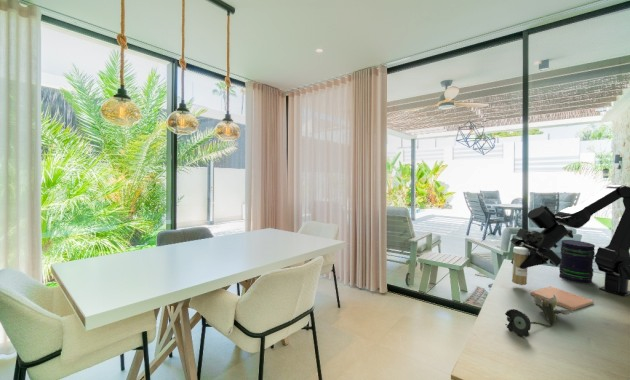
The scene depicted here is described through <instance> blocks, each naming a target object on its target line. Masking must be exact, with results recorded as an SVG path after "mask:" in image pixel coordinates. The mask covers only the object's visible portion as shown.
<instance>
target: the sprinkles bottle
mask: <svg viewBox="0 0 630 380" xmlns="http://www.w3.org/2000/svg"><path fill="white" fill-rule="evenodd" d="M512 252H513V257H512V259H513V264H512V272H511V273H512V280H511V282H512V283H514V284H516V285H519V286H525V285H527V284H528V282H527V281H528V280H527V279H528V278H527V277H528V268H524V269H521V268H520V267H519V266H520V265H521V264H522V263H523V262H524V261H525V260H526V259H527V258H528V254H529V255H530V252H529V250H528V249H527V248H524V247H516V246H514V247H513V249H512Z"/></svg>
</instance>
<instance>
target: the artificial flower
mask: <svg viewBox="0 0 630 380" xmlns="http://www.w3.org/2000/svg"><path fill="white" fill-rule="evenodd" d="M531 300H532V301H533V302H534V304H535V306H536V307H537V308H539V309H540V310H541V311H539V312H538V314H544V316H545V318H546V320H547V322H548V324H547V323H541V322H539V321H538V322H537V321H531V319H530V318H529V316H528V315H527V314H526V313H523V312H522V311H520V310H519V309H508V310H507V311H505V313H504V314H505V316H507V317H506V321H507V322H508V324H507V323H505V326H506V329H507V330H508V331H509V332H511V333H512V332H513V333H515V334H516V336H518V337H529V336H530V331H531V328H532V324H533V325H541V326H545V327H549V328H551V327H553V326H555V323H556V322H557V317H556V315H559V314H561V315H570V314H573V313H575V310H570V309H568V308H566V309H560V310H559V309H555V308H556V307H557V299H556V296H555V295H554V297H553V298H550V300H548V299H547V298H543V299H541V298H539V297H536V296H533V297H532V298H531Z"/></svg>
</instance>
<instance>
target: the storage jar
mask: <svg viewBox="0 0 630 380" xmlns="http://www.w3.org/2000/svg"><path fill="white" fill-rule="evenodd" d="M560 242H561V244H560V256H561V257H560V258H561V263H560V264H559V277H560V278H561V279H562V280H566V281H569V282H572V283H577V284H585V285H588V284H589V285H590V284H592V283H593V277H594V268H593V263H594V260H595V257H594V256H595V255H596V253H595V248H596V247H595V244H593V243H590V242H585V241H580V240H573V239H572V240H571V239H563V240H562V239H561V241H560Z"/></svg>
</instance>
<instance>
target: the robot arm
mask: <svg viewBox="0 0 630 380" xmlns="http://www.w3.org/2000/svg"><path fill="white" fill-rule="evenodd" d="M619 199H622V203H623V206H624V210H623V213H622V215H621V218H620V220H619V222H618V224H617V226H616V229H615V231H614V233H613V235H612V237H611V240H610V242H609V244H608V245H606V246H604V247H601V246H599V247H598V248H597V249H596V250H597V251H596V253H595V255H594V263H595V264H596V266H597V269H598V271H599V272H603V273H604V283H603V286H599V288H598V289H599V290H602V291H604V292H605V291H606V292H609V293H613V294H616V295H619V296H622V297H626V296H629V295H630V290H629V281H630V186H626V185H622V184H610V185H607V186H606V188H604V189H602V190H601V191H600V192H598V193H596V194H595V195H593V196H591V197H590V198H587V199H586V200H585V201H583V202H581V203H580V204H578V205H574V206H570V207H566V208H564V209H561V210H559V211H558V212H556V213H554V212H552V211H551V210H550V209H549V207H548V206H547V205H541V206H539V207H536V208H534V209H531V210H530V211H529V212H527V214H526V215H527V218H528V219H529V220H530V221H531V222H532V223H533V224H534V225H535V226H536V227H537V228H538V229H543V230H541V231H540V232H539V231H538V230H537V231H536V230H532V231H530V230H527V229H524V228H519V229H518V231H517V232H516V234H515V236H516V237H513V238H512V239H511V240H510V242H511V244H513V245H514V247H524V248H527V249H528V250H529V254H528V258H527V259H526V260H525V261H524V262H523V263H522V264H521V265H520V266H519V267H520V268H521V269H524V268H527V269H528V268H531V267H536V266H540V265H548V261H549V264H550V265H552V266H554V267H558V266H560V263H561V257H560V256H558V254H556V253H555V251H553V250H552V248H554V249H556V248H558V245H557V243H559V242H561V241H562V239H563V238H565V237H567V238H571V239H573V238H574V233H573V230H571V229H580V228H582V227H583V226H585V225H586V224H587V223H588V222H589V221H590V220H591V217H592V216H593V215H595V214H596V213H598V212H600V211H601V210H603V209H604V208H606V207H608V206H609V205H611V204H613V203H615V202H617V201H618V200H619ZM567 227H569V228H571V229H568V228H567ZM519 237H520V238H519ZM511 264H512V265H513V258H512V260H511Z"/></svg>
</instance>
